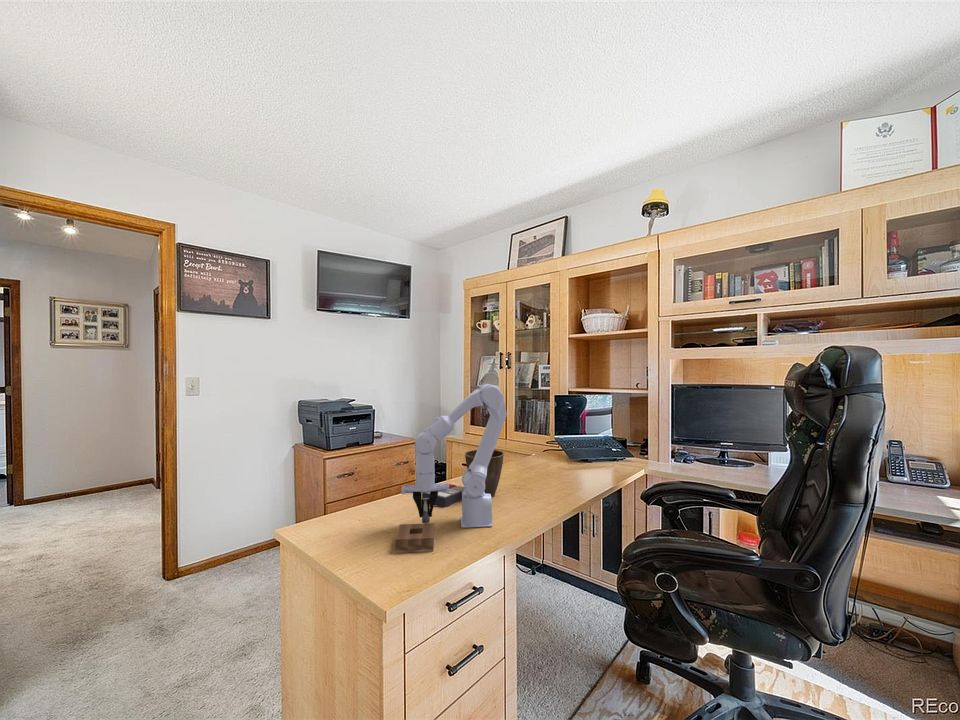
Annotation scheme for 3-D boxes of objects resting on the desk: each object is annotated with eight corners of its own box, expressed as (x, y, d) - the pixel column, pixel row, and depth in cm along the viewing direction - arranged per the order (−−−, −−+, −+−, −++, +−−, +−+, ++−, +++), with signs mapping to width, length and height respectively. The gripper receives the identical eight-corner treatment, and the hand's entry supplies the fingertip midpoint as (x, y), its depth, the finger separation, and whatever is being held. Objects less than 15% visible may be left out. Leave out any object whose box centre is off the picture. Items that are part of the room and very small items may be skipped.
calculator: (469, 487, 150) (445, 495, 137) (469, 498, 150) (444, 508, 137) (447, 482, 156) (421, 490, 144) (447, 493, 156) (421, 502, 143)
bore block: (434, 535, 115) (434, 523, 115) (433, 551, 105) (433, 538, 105) (399, 536, 114) (399, 524, 114) (395, 552, 104) (395, 539, 104)
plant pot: (457, 495, 150) (456, 453, 151) (484, 486, 161) (484, 447, 161) (484, 504, 140) (484, 459, 140) (512, 495, 150) (511, 453, 150)
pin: (429, 520, 123) (429, 497, 123) (429, 523, 121) (429, 500, 121) (422, 520, 123) (421, 497, 123) (421, 523, 120) (421, 500, 121)
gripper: (448, 467, 127) (449, 510, 126) (403, 469, 125) (403, 512, 125) (448, 473, 120) (449, 518, 119) (400, 475, 118) (400, 520, 118)
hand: (425, 516), depth 122 cm, fingers closed on pin, 2 cm apart
